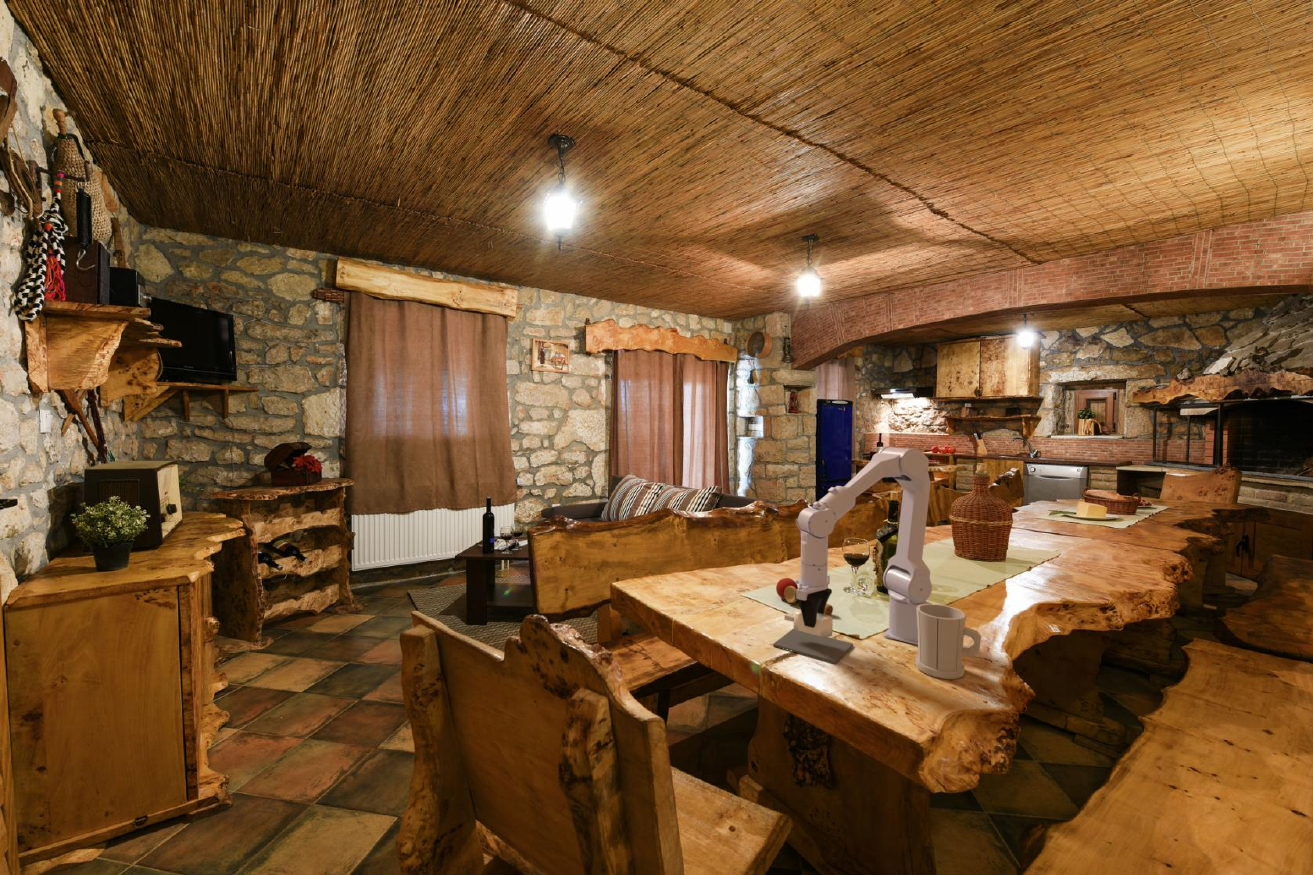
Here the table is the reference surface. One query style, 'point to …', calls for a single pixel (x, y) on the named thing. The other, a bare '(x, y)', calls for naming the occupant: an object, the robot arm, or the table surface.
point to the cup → (943, 641)
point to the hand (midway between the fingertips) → (813, 623)
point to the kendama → (787, 592)
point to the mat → (814, 646)
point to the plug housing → (821, 626)
